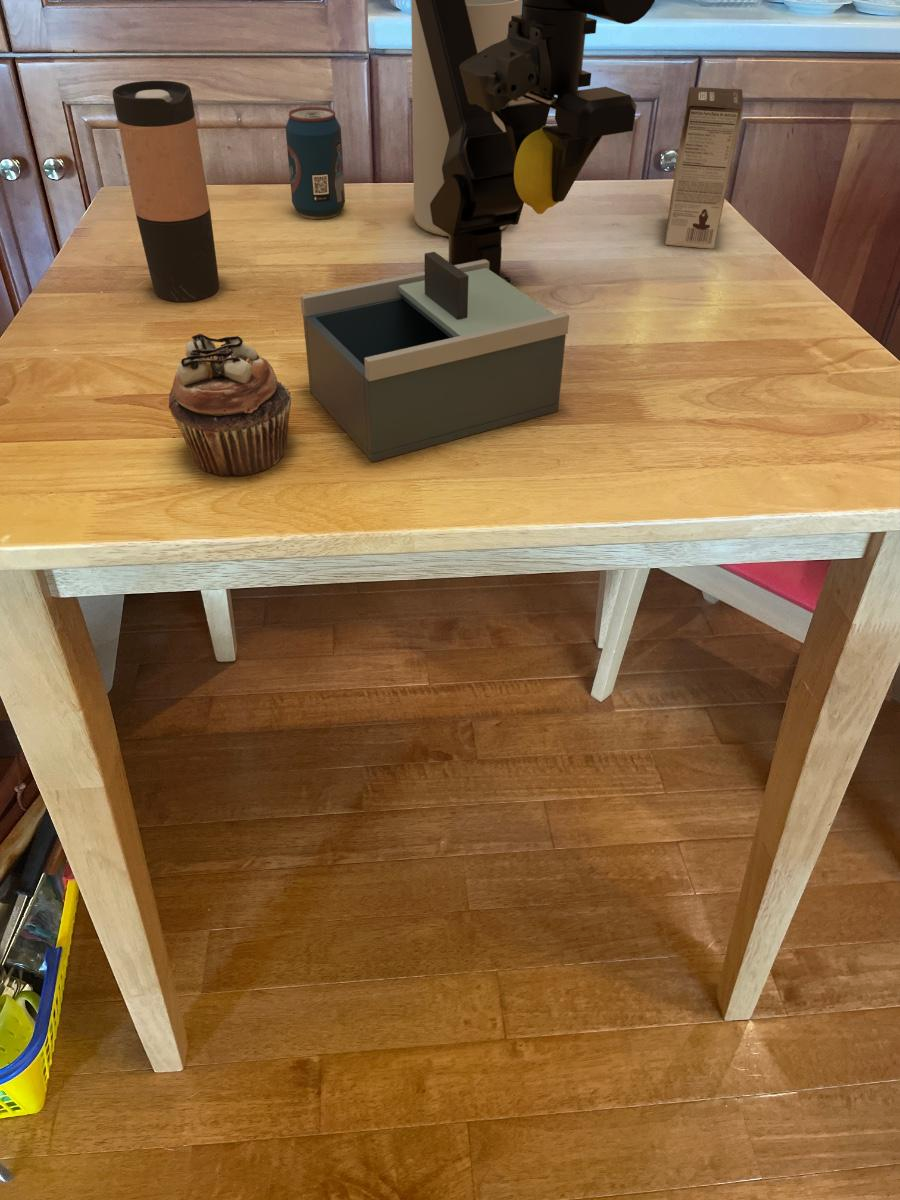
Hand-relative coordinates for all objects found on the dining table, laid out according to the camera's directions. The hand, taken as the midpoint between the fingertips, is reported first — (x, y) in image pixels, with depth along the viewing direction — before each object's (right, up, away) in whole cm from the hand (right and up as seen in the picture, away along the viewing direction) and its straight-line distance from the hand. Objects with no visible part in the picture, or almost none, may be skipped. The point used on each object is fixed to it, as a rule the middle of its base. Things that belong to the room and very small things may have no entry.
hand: (540, 192), depth 90 cm
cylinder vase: (-7, +9, +31) cm, 33 cm away
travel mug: (-38, -5, +13) cm, 41 cm away
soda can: (-26, +12, +33) cm, 44 cm away
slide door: (-7, -14, -9) cm, 18 cm away
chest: (-10, -22, -5) cm, 25 cm away
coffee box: (+22, +7, +28) cm, 36 cm away
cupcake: (-27, -27, -12) cm, 40 cm away
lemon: (0, -2, +1) cm, 2 cm away
